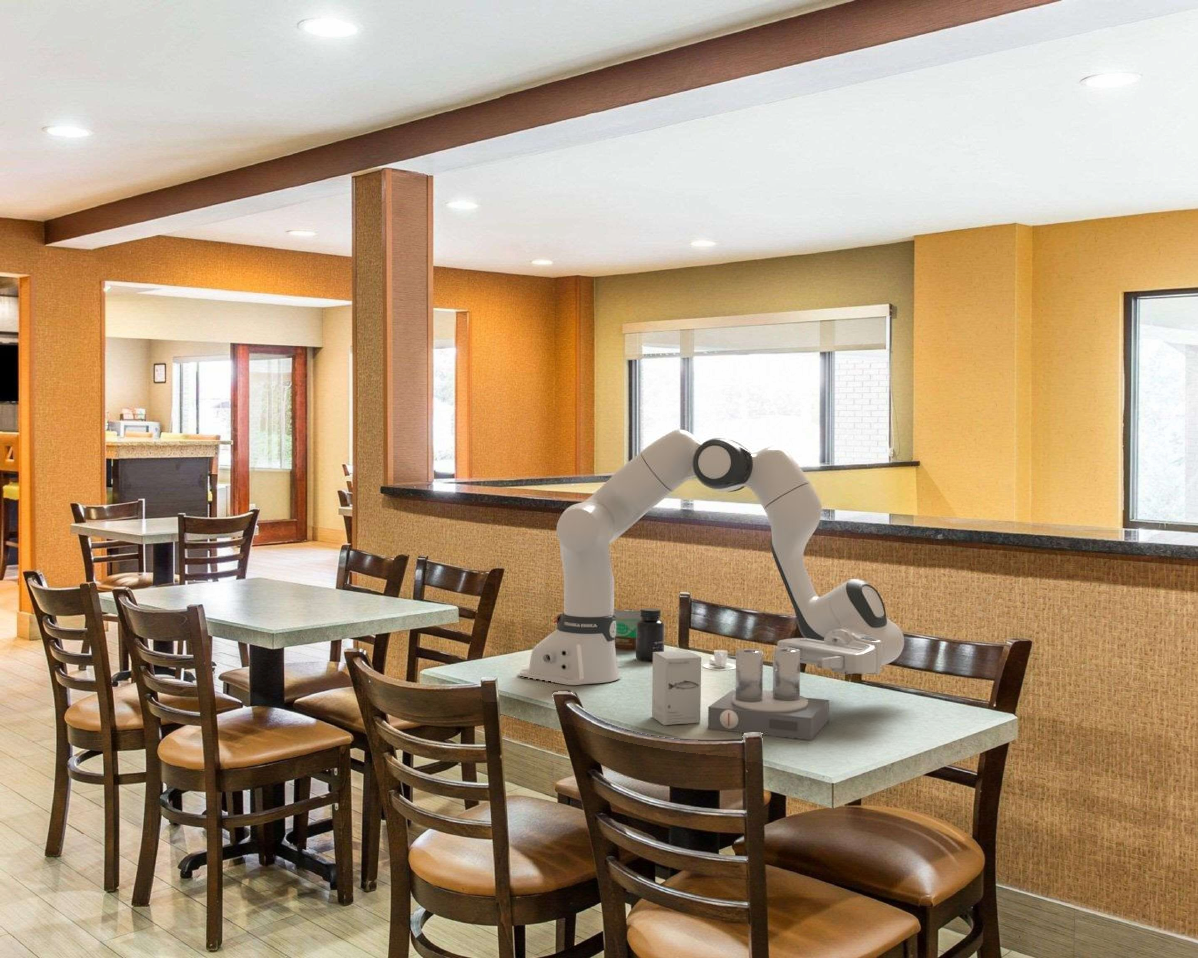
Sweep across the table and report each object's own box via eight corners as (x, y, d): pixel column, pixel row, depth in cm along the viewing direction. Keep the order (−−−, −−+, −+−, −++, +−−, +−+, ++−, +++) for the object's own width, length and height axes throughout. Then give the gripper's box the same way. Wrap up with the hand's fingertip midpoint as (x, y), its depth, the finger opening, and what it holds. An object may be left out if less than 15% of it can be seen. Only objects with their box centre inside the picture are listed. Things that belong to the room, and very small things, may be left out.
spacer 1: (732, 700, 209) (732, 652, 209) (739, 695, 214) (740, 647, 214) (758, 703, 207) (759, 654, 207) (765, 697, 212) (766, 649, 212)
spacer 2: (769, 699, 211) (770, 651, 210) (776, 693, 215) (777, 646, 215) (796, 702, 209) (796, 653, 208) (802, 696, 213) (803, 648, 213)
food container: (599, 649, 284) (599, 609, 284) (607, 644, 290) (607, 605, 289) (646, 652, 280) (647, 612, 280) (653, 648, 286) (654, 608, 285)
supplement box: (664, 726, 209) (664, 658, 209) (651, 716, 216) (651, 650, 216) (701, 723, 211) (702, 656, 211) (687, 714, 219) (688, 649, 218)
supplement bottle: (661, 662, 268) (662, 612, 267) (633, 661, 269) (633, 610, 269) (666, 657, 274) (666, 607, 274) (638, 655, 276) (638, 606, 275)
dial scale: (707, 728, 208) (707, 702, 207) (731, 710, 222) (732, 686, 221) (810, 740, 200) (810, 713, 200) (828, 720, 214) (829, 695, 214)
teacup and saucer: (709, 663, 270) (709, 646, 269) (741, 665, 267) (742, 648, 266) (698, 670, 261) (699, 652, 261) (732, 673, 258) (732, 655, 258)
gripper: (803, 628, 231) (758, 635, 222) (888, 641, 215) (844, 650, 206) (802, 658, 231) (758, 668, 222) (888, 674, 216) (844, 685, 206)
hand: (800, 659), depth 214 cm, fingers open, 8 cm apart
